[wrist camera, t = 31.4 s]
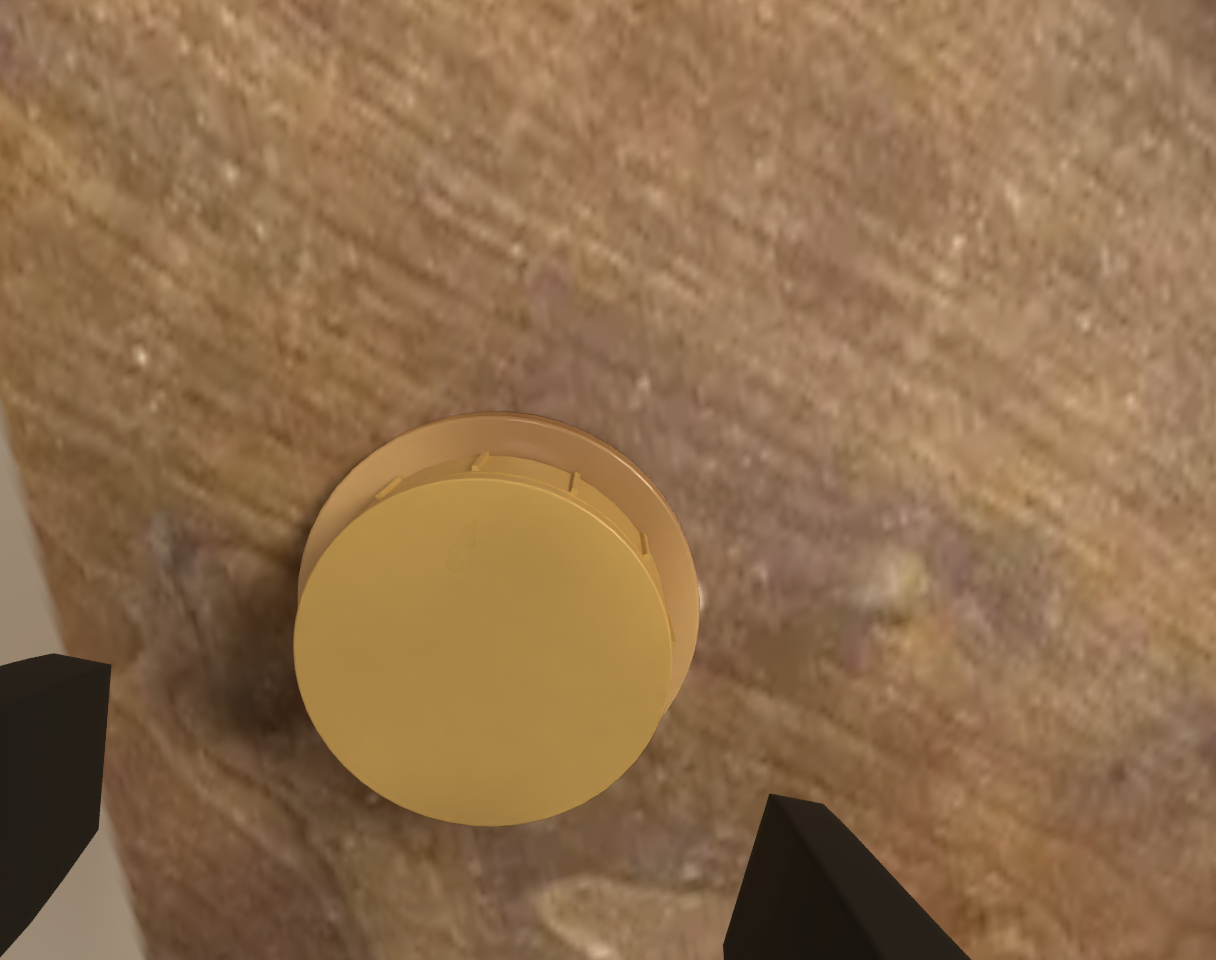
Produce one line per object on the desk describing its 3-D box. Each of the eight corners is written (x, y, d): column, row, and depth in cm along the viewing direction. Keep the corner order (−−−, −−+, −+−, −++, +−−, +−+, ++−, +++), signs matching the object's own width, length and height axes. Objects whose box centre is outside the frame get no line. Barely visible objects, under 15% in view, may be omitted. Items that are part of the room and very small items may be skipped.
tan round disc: (368, 805, 15) (360, 822, 15) (255, 456, 13) (242, 463, 13) (727, 738, 15) (731, 753, 14) (656, 372, 13) (658, 375, 13)
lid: (621, 796, 14) (622, 858, 13) (306, 730, 14) (268, 786, 12) (703, 499, 13) (716, 528, 11) (358, 418, 13) (323, 437, 11)
